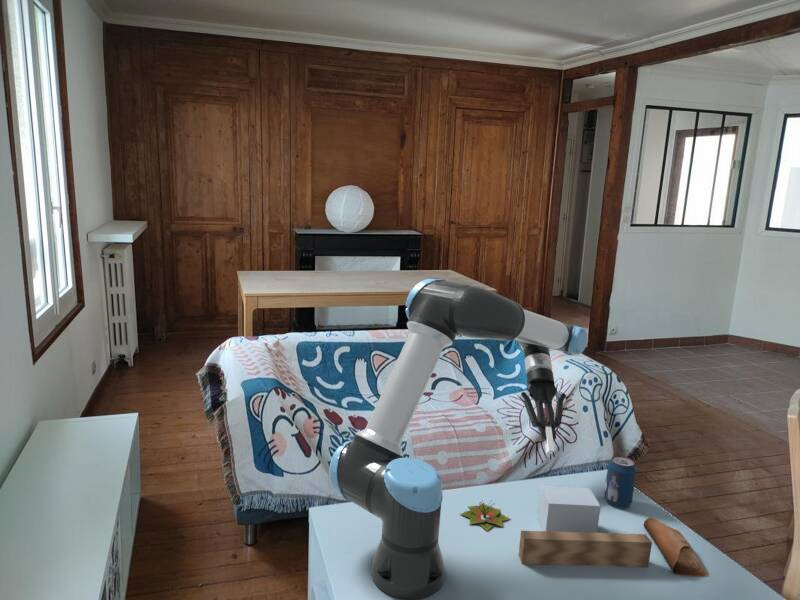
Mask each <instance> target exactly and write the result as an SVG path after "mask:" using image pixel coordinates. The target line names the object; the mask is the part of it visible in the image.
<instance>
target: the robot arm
mask: <svg viewBox="0 0 800 600" xmlns="http://www.w3.org/2000/svg"><path fill="white" fill-rule="evenodd" d="M405 307H406V308H405V314H406V317H407V319H408V320H407V322H406V326H407V329H408V332H409V334H408V335H407V338H406V340H405V342H404V345H402V349H401V351H400V353H399V355H398V357H397V360H396V362H395V363H394V366H393V368H392V371H391V372H390V375H389V376H388V379H387V381H386V383H385V385H384V387H383V389H382V392H381V394H380V396H379V398H378V401H377V403H376V404H375V407H374V409H373V411H372V413H371V415H370V416H371V417H370V418H369V421H368V422H367V424H366V427H365V428H364V429H362V430H359V431H357V432H355V434H354V436H353V439H352V440H347V441H345V442H343V443H342V444H341V445H339V446H338V447H337V449H336V450H335V451H334V453H333V455H332V456H331V460H330V464H329V469H328V473H329V474H328V476H329V480H330V484H331V487H332V488H333V490H334V491H335V493H337V494H339V496H341V497H343V498H344V499H345V500H346V501H347V502H351V503H353V504H355V505H357V506H358V507H359V508H361V509H363V510H364V511H367V512H368V513H370V514H372V515H374V516H375V517H377V518H378V519H380V520H381V521H382V522H381V525H382V526H381V527H382V528H381V538H380V541H379V543H378V545H377V547H376V550H375V553H374V555H373V558H372V561H371V571H370V572H371V574H370V576H371V578H372V581H373V583H374V584H375V586H376V587H377V588H378V589H379V590H380V591H382V592H384V593H385V594H387V595H389V596H391V597H394V598H399V599H405V600H418V599H423V598H427V597H429V596H431V595H433V594H435V593H437V592H438V591H439V590H440V589H441V587H442V586H443V585H444V582H445V575H446V574H445V571H446V567H445V562H444V558H443V555H442V551H441V546H440V544H439V535H440V524H441V512H442V511H441V510H442V503H443V490H442V489H443V483H442V478H441V476H440V473H439V472H438V470H436V468H435V467H434V466H432V465H431V464H430V463H428V462H427V461H424V460H421V459H418V458H414V459H412V458H411V457H404V452H403V449H402V446H401V445H402V443H403V440H404V438H405V435H406V434H407V431H408V429H409V426H410V424H411V422H412V420H413V418H414V415H415V413H416V411H417V409H418V407H419V404H420V402H421V400H422V397H423V395H424V393H425V390H426V389H427V386H428V384H429V381H430V379H431V377H432V375H433V372H434V371H435V368H436V366H437V363H438V362H439V359H440V357H441V355H442V352H443V350H444V349H445V348H448V347H449V346H453V343H454V341H455V339H456V337H457V336H462V337H466V338H472V339H481V340H482V339H484V340H497V341H502V342H510V341H513V340H515V341H516V342H517V343H518V344H519V345H520V346H521V348H522V351H523V359H524V367H525V374H526V381H527V382H526V383H527V388H526V390H525V391H522V392H521V393H520V396H519V399H520V400H521V401H522V403H523V404H524V407H525V410H526V413H527V415H528V417H529V420H530V423H531V426H532V428H536V429H538V431H539V434H540V439H541V441H544V445H545V453H546V454H547V455H549V454H550V455H551V454H553V453H554V452H555V445H554V444H555V442H554V441H556V439H557V435H556V434H557V433H556V429H558V428H559V427H560V426H561V424H562V417H563V408H564V401H565V399H566V396H567V394H566V393H561V392H559V391H558V389H557V387H556V385H555V379H554V378H555V377H554V372H553V366H552V359H551V351H550V350H555V351H557V352H558V351H559V352H562V353H566V354H569V355H570V354H572V355H575V356H576V355H580V354H583V352H584V351H585V349H586V346H587V344H588V333H587V330H586V329H585V328H584V327H580V326H577V325H571V324H568V323H565V322H561V321H559V320H556V319H553V318H550V317H547V316H545V315H541V314H538V313H536V312H532V311H530V310H527V309H525V308H523V307H522V305H521V304H520V303H518V302H517V301H515V300H512V299H509V298H507V297H504V296H503V295H500V294H498V293H495V292H494V291H491V290H488V289H486V288H483V287H480V286H476V285H470V284H465V283H459V282H454V281H450V280H446V279H440V278H438V279H437V278H436V279H435V278H427V279H424V280H421V281H419V282H418V283H416V284H415V285H414V287H413V288H412V289H411V290H410V292H409V294H408V295H407V299H406V302H405ZM554 398H555V400H556V406H555V414H554V410H553V399H554ZM531 399H532V400H533V401H534V403H535V404H534V405H535V409H536V411H535V409H534V405H533V404H532V401H531ZM544 407H545V408H544ZM544 409H545V411H544ZM544 412H545V413H544ZM545 415H546V417H545ZM546 422H547V423H546ZM546 424H547V426H546Z"/></svg>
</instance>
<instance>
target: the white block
mask: <svg viewBox="0 0 800 600" xmlns="http://www.w3.org/2000/svg"><path fill="white" fill-rule="evenodd" d="M539 487H540V489H539V497H538V498H539V499H538V508H537V516H536V520H537V523H538V525H539V527H540V529H541V530H540V531H552V532H585V533H598V530H599V528H598V527H599V523H600V522H599V521H600V514H601V513H600V512H601V507H602V506H601V504H600V502H599V501H598V499H597V498H596V497H595V495H594V493H593V492H592V490H591V489H590V487H588V488H587V487H571V486H551V485H550V486H549V485H540V486H539Z"/></svg>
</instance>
